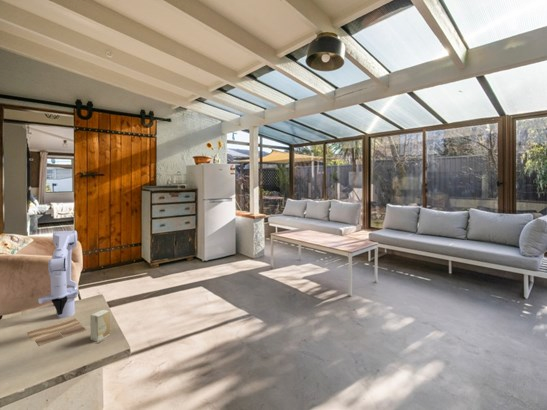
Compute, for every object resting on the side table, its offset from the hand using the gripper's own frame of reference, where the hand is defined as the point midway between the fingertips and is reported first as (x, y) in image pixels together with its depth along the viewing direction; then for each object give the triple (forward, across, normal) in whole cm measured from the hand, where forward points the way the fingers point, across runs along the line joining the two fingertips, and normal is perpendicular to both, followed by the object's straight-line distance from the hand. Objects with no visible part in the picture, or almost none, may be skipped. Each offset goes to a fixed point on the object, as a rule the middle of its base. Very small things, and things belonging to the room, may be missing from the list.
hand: (59, 313), depth 129 cm
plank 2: (+9, +4, -4) cm, 11 cm away
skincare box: (+10, +10, -18) cm, 23 cm away
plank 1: (+9, -5, -4) cm, 11 cm away
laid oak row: (+9, -1, +5) cm, 11 cm away
